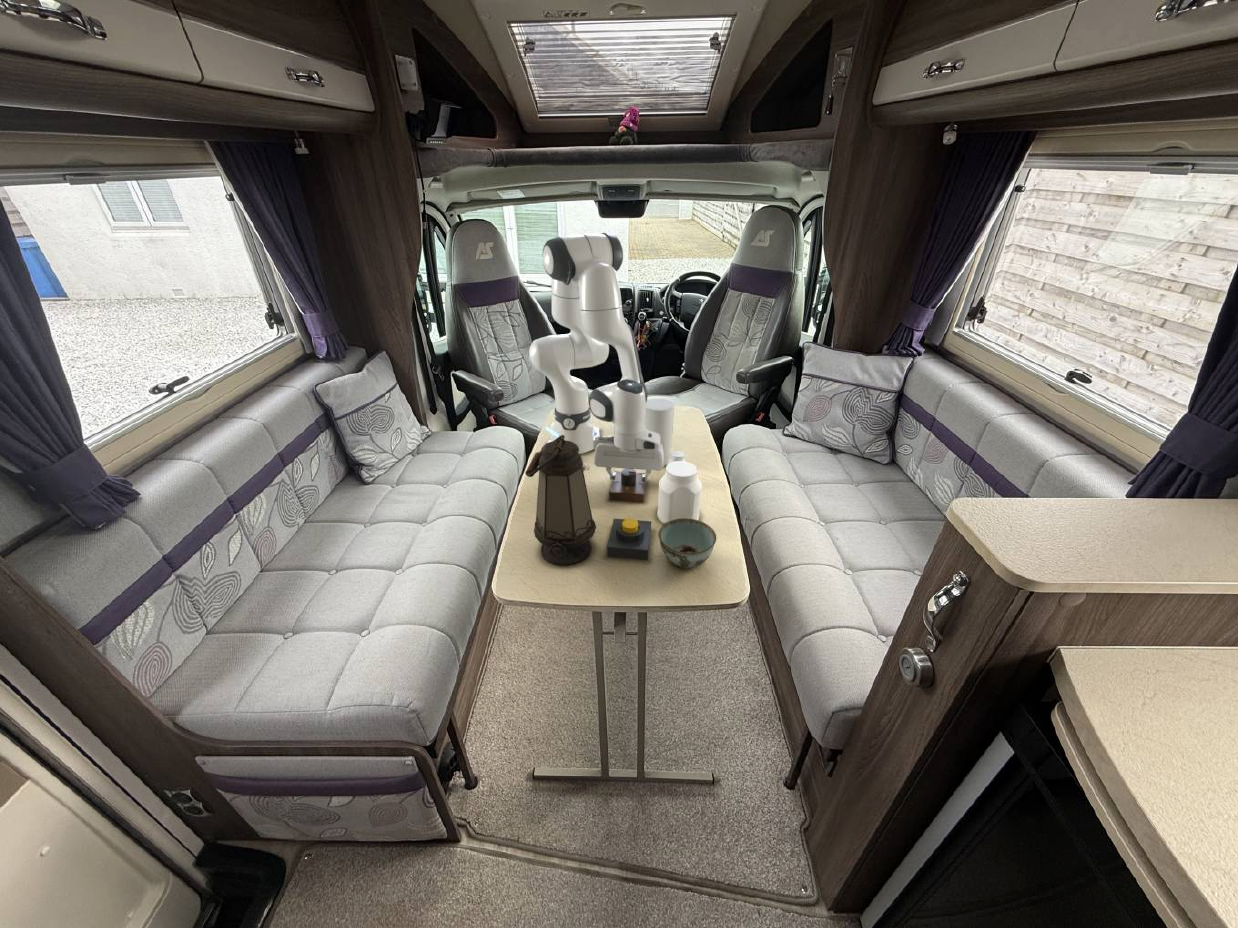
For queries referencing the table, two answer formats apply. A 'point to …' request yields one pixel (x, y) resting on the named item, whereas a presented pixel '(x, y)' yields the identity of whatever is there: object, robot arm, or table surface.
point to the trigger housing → (629, 541)
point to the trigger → (630, 526)
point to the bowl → (686, 542)
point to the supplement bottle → (677, 456)
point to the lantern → (562, 504)
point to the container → (661, 423)
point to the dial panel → (627, 490)
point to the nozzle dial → (628, 477)
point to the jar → (679, 492)
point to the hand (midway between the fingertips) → (628, 479)
